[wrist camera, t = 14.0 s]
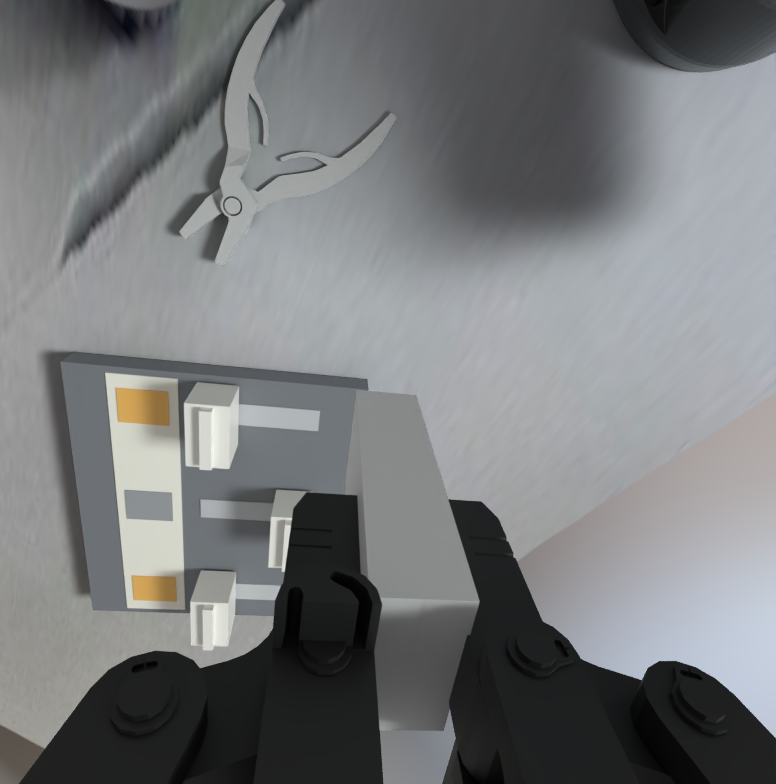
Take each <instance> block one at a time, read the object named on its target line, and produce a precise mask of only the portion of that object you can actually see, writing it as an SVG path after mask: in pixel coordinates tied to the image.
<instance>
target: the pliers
mask: <svg viewBox="0 0 776 784" xmlns="http://www.w3.org/2000/svg"><path fill="white" fill-rule="evenodd" d="M284 7H285V3H284V2H283V1H282V0H275V1H274V2H273V3H272V4H271V5H270V6H269V7H268V8H267V9H266V11H265V12H264V13H263V14H262V15H261V17H260V18H259V19H258V20H257V21H256V23H255V24H254V26H253V28H252V29H251V31H250V32H249V34H248V36H247V37H246V39H245V41H244V43H243V45H242V47H241V49H240V51H239V53H238V56H237V59H236V62H235V64H234V67H233V70H232V74H231V78H230V81H229V85H228V90H227V96H226V102H225V128H226V135H227V141H228V152H227V158H226V163H225V168H224V170H223V173H222V176H221V179H220V181H219V182H220V186H221V187H220V188H219V189H217V190H216V191H215V192H214V193H212V194H211V195H210V196H209V197H207V198H206V199H205V200H204V202H203V203H202V204H201V205H200V207H199V208H198V209H197V210H196V212H195V213H194V214H193V215H192V217H191V218H190V219H189V220H188V221H187V223H186V224H185V225H184V226H183V228H182V229H181V230H180V231H179V232H180V234H181V235H182V236H183V237H184V239H185V240H186V239H187V238H189V237H191V236H192V235H193V234H195V233H196V232H197V231H199V230H200V229H201V228H203V227H204V226H205V225H207V224H208V223H209V222H211V221H212V220H213V219H215V218H216V217H217V216H218V215H220V214H221V213H224V214H225V215H226V216H227V217H229V223H228V226H227V228H226V231H225V234H224V237H223V239H222V242H221V245H220V248H219V251H218V253H217V256H216V259H215V263H217V264H219V265H221V266H223V265H225V264H226V263H227V261H228V260H229V258H230V257H231V255H232V253H233V252H234V250H235V249H236V247H237V246H238V244H239V243H240V241H241V240H242V238H243V237H244V235H245V234H246V232H247V231H248V229H249V228H250V225H251V222H252V219H253V217H254V214H255V212H260V211H261V210H263V209H264V208H265V207H266V206H268V205H269V204H270V203H272V202H275V201H278V200H281V199H284V198H288V197H300V196H309V195H312V194H315V193H318V192H321V191H323V190H325V189H327V188H329V187H332V186H334V185H336V184H337V183H339V182H340V181H342V180H343V179H345V178H346V177H348V176H349V175H350V174H352V173H353V172H354V171H356V170H357V169H358V168H359V167H361V166H362V165H363V164H364V163H365V162H366V161H367V160H368V159H369V158H370V157H371V155H372V154H373V153H374V152H375V151H376V149H377V148H378V147H379V146H380V145H381V143H382V142H383V140H384V138H385V137H386V135H387V134H388V132H389V131H390V129H391V127H392V125H393V124H394V122H395V120H396V118H397V117H396V116H395V115H394V114H393V113H392V112H391V113H390V114H389V115H388V116H387V117H386V118H385V119H384V120H383V121H382V122H381V124H380V125H379V126H377V127H376V128H375V129H374V130H373V131H372V132H371V133H370V134H369V135H368V136H367V137H366V138H365V139H364V140H363V141H362V142H361V143H359V144H358V145H357V146H355V147H354V148H353V149H351V150H350V151H349V152H347V153H346V154H345V155H343V156H342V157H340V158H331V157H328V156H325V155H322V154H319V153H313V152H299V153H294V154H290V155H287V156H284V157H281V158H280V159H281V161H282V162H283V161H286V160H289V159H292V158H298V157H309V158H316V159H318V160H320V161H321V162H323V163H325V164H327V166H325V167H323V168H320V169H318V170H316V171H310V172H305V173H298V174H290V175H282V176H279V177H277V178H276V179H275V180H273V181H272V182H271V183H269V184H268V185H267V186H265V187H264V188H263V189H261V190H260V191H259V192H258V191H256V190H254V189H252V188H249V187H247V186H246V185H245V183H244V182H243V180H242V179H241V176H242V174H243V173H244V171H245V168H246V165H247V162H248V160H249V157H250V154H251V151H252V150H251V141H250V132H249V120H248V103H249V96H250V95H251V96H252V98H253V99H254V100H255V102H256V103H257V105H258V106H259V109H260V112H261V115H262V118H263V129H264V138H263V145H265V146H268V136H269V127H268V117H267V113H266V109H265V106H264V103H263V101H262V99H261V97H260V95H259V93H258V91H257V89H256V85H255V81H254V76H255V73H256V69H257V66H258V63H259V60H260V58H261V55H262V52H263V49H264V47H265V45H266V43H267V41H268V38H269V36H270V34H271V32H272V30H273V28H274V26H275V24H276V22H277V20H278V18H279V16H280V14H281V13H282V11H283V9H284Z"/></svg>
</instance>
